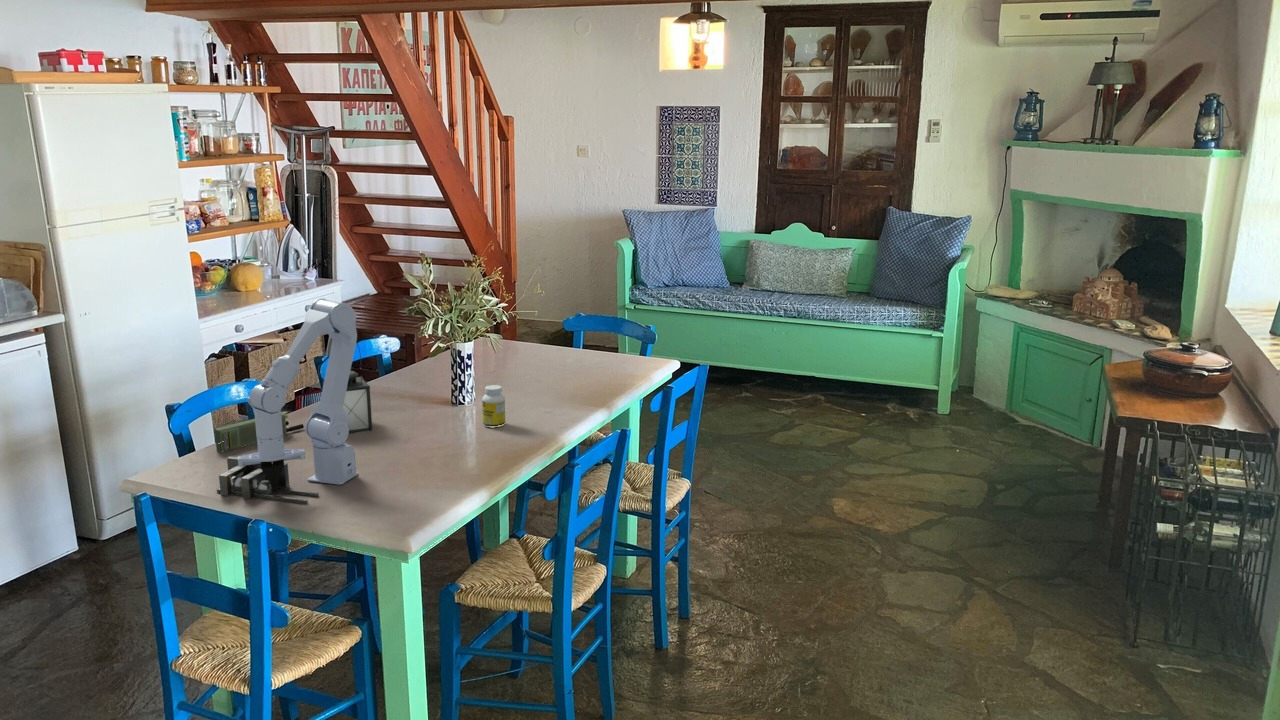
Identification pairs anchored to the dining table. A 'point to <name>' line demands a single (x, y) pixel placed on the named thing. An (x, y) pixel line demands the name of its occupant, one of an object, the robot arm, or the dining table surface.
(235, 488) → the tube
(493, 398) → the pill bottle
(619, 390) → the dining table surface
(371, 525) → the dining table surface
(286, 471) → the collar fixture
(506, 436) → the dining table surface
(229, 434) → the handheld radio
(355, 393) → the lantern
